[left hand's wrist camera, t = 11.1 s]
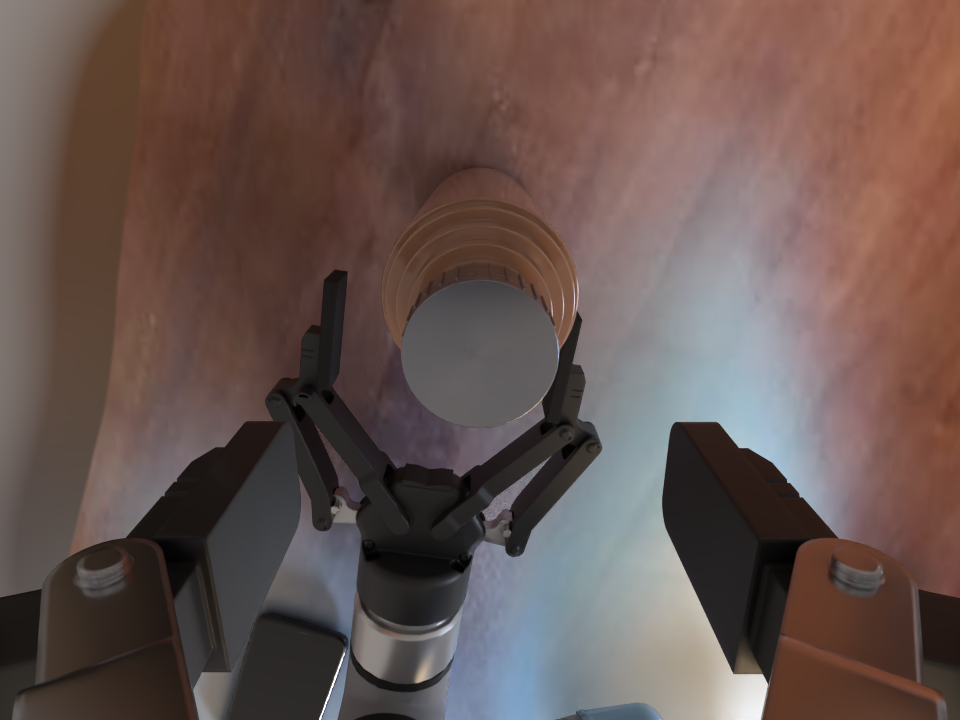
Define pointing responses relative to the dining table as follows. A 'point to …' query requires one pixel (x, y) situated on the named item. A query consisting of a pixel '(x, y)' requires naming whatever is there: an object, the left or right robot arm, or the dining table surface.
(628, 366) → the dining table surface
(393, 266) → the bottle
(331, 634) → the smartphone
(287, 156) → the dining table surface
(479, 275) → the cap
